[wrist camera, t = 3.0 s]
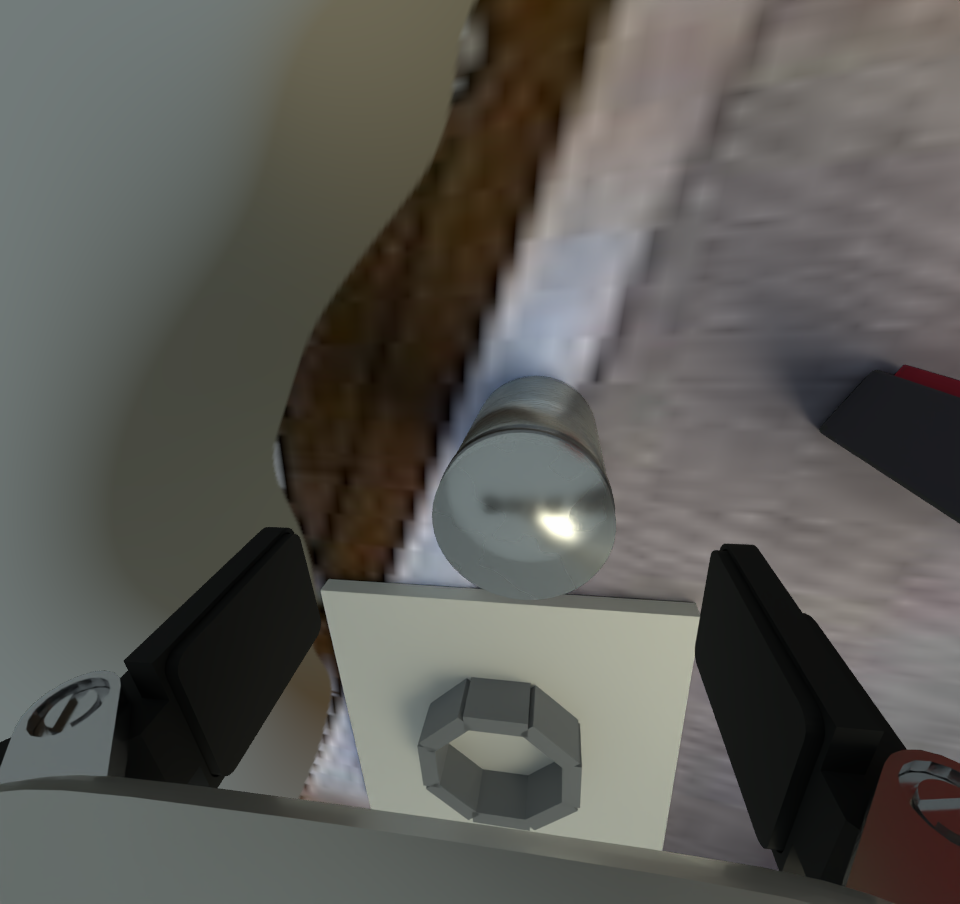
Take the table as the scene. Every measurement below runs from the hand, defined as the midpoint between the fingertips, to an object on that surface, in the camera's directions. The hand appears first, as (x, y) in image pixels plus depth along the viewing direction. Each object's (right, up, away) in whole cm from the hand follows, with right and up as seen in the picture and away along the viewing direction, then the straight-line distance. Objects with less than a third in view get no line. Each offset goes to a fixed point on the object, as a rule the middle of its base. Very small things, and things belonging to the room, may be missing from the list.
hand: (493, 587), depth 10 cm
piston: (+2, +4, +11) cm, 11 cm away
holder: (+1, -14, +18) cm, 23 cm away
